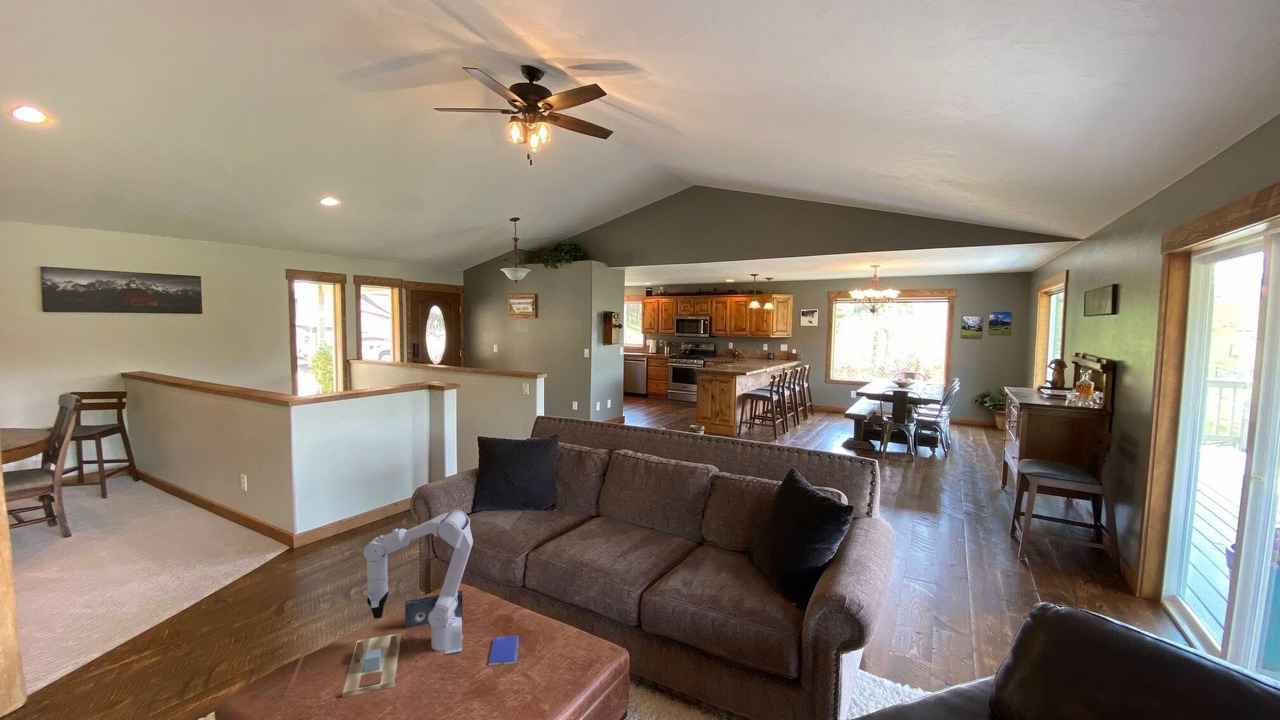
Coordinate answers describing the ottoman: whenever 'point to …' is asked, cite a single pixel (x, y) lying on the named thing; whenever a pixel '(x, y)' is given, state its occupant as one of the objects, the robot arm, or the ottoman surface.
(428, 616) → the robot arm
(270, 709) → the ottoman surface
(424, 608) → the vhs cassette tape
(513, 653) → the blue book
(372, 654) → the blue block
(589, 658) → the ottoman surface
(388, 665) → the cream flat tray
